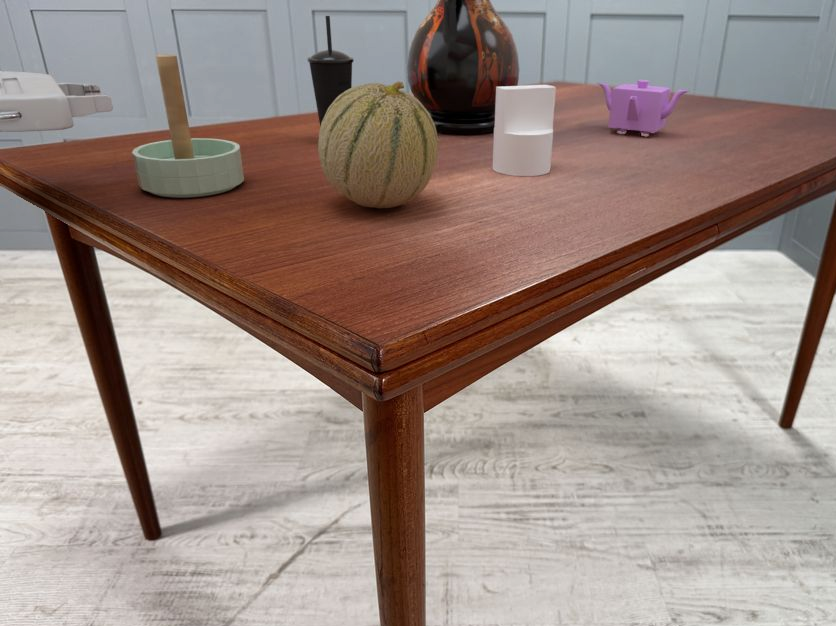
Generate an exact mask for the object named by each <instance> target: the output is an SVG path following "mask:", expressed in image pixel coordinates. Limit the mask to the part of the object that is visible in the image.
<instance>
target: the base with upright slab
mask: <svg viewBox="0 0 836 626" xmlns="http://www.w3.org/2000/svg"><path fill="white" fill-rule="evenodd" d="M556 90H557V87H556V86H554V85H549V84H531V85H529V84H528V85H517V86H502V87H496V104H495V128H494V131H493V144H492V145H493V146H492V170H493V171H494V172H496V173H497V174H501V175H506V176H513V177H539V176H543V175H546V174H549V173H551V172H550V171H551V165H552V153H553V141H554V117H555V104H556Z"/></svg>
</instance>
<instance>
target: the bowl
mask: <svg viewBox="0 0 836 626" xmlns="http://www.w3.org/2000/svg"><path fill="white" fill-rule="evenodd" d="M191 142H192V148H193V154H194V158H193V159H175V157H174V152H173V147H172V141H171V139H166V140H160V141H155V142H154V141H153V142H149V143H145V144H141V145H139V146H137V147H135V148H134V149H133V150H132V152H131V156H132V160H133V165H134V169H135V174H136V180H137V183H138V187H139V188H141V190H143V191H144V192H145V191H146V192H149V193H150V194H152V195H154V196H155V195H156V196H159V197H166V198H199V197H206V196H208V197H209V196H213V195H218V194H222V193H226V192H229V191H231V190H233V189H235V188H236V187H237V186H239V185H241V184H242V183H243V182H245V175H244V167H243V159H242V153H241V146H240V145H241V144H239V143H237V142H235V141H231V140H227V139H219V138H206V137H205V138H203V137H202V138H201V137H193V138H192V137H191Z"/></svg>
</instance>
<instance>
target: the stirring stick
mask: <svg viewBox="0 0 836 626" xmlns="http://www.w3.org/2000/svg"><path fill="white" fill-rule="evenodd" d="M155 60H156V67H157V70H158V76H159V81H160V87H161V92H162V97H163V102H164V108H165V114H166V120H167V125H168V131H169V135H170V140H171V141H172V147H173V152H174V157H175V159H193V158H194V154H193V148H192V142H191V138H192V137H191V131H190V124H189V120H188V114H187V107H186V102H185V97H184V89H183V84H182V78H181V73H180V66H179V61H178V56H177V54H169V53H168V54H156V55H155Z"/></svg>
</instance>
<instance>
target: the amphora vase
mask: <svg viewBox="0 0 836 626" xmlns="http://www.w3.org/2000/svg"><path fill="white" fill-rule="evenodd" d="M406 74H407V77H406V78H407V83H408V86H409V89H410V92H411V94H412V95H413V96H414V97H415V98H417V99H418V100H419V101H420V103H421V104H422V105H423V106H424V108H425V109H426V110H427V111H428V113H429V114H430V116H431V118H432V120H433V122H434V124H435V128H436V132H437V133H442V134H451V135H480V134H487V133H494V128H495V104H496V87H502V86H519V79H520V61H519V53H518V49H517V45H516V42H515V39H514V37H513V34H512V32H511V30H510V29H509V26H507V24H506V22H505V21H504V20H503V19H502V16H500V14H499V13H498V12H497V10H496V9H495V7H494V6H493V3H492V2H491V0H437V2H436V4H435V5H434V6H433V8H432V10H431V11H430V12H429V13H428V14H427V15H426V17H425V18H424V20H422V22H421V23H420V24H419V25H418V27H417V29H416V31H415V33H414V35H413V37H412V40H411V43H410V46H409V49H408V55H407V63H406Z"/></svg>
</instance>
